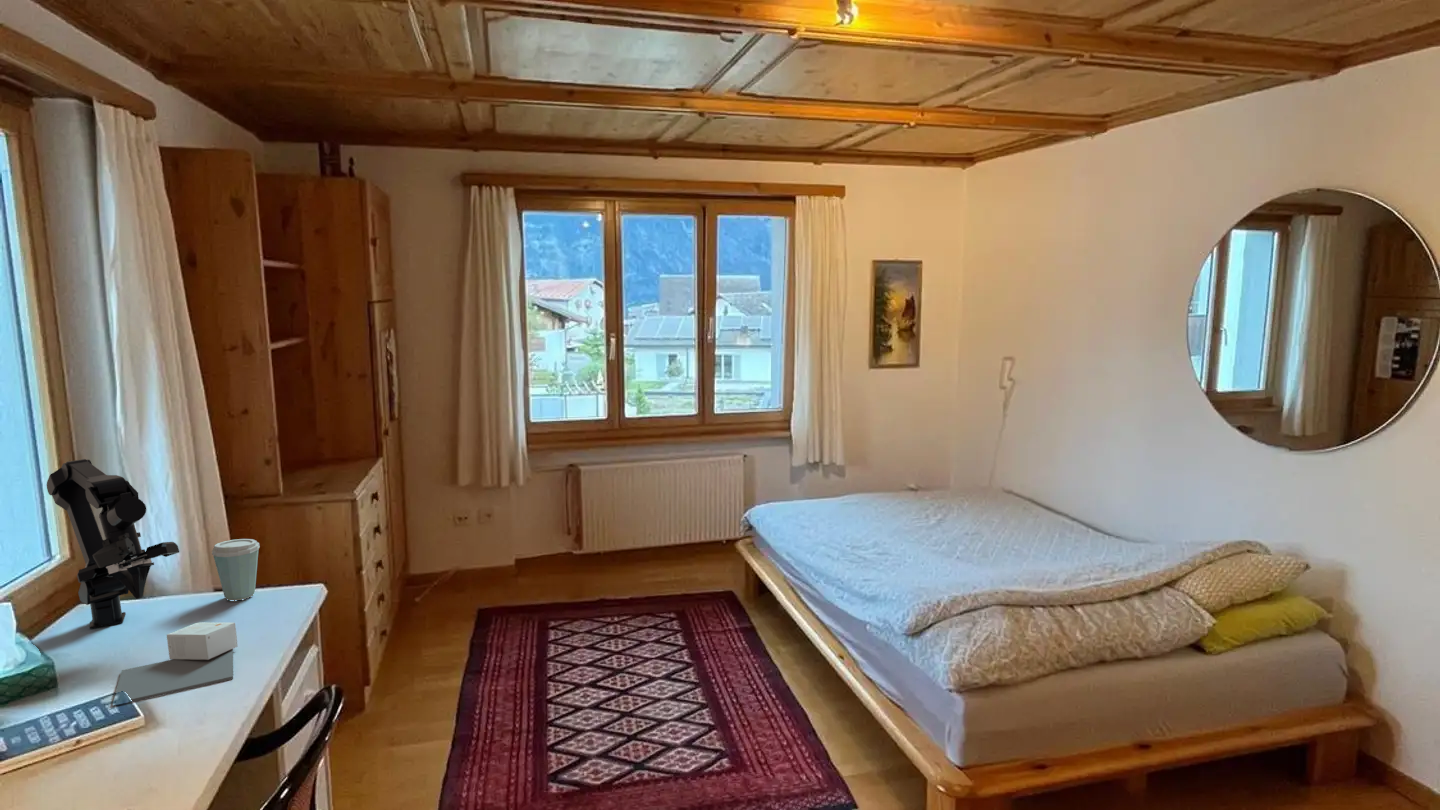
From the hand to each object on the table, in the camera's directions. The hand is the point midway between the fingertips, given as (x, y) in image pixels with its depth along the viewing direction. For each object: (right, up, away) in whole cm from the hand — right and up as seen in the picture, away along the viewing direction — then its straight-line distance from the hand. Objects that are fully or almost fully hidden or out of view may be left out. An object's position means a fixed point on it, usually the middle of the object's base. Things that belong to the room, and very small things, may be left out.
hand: (139, 598), depth 182 cm
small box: (+12, -8, -4) cm, 15 cm away
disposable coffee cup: (+6, -7, +29) cm, 30 cm away
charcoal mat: (+18, -13, -14) cm, 26 cm away
